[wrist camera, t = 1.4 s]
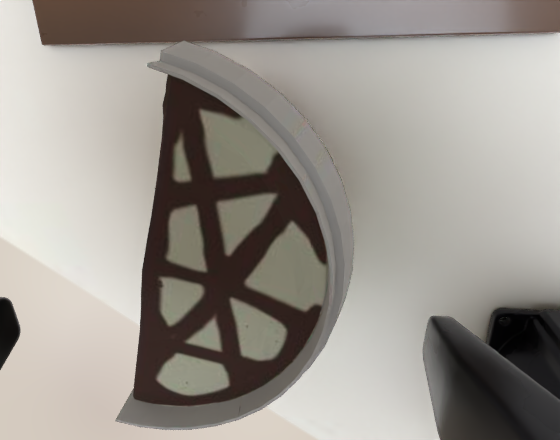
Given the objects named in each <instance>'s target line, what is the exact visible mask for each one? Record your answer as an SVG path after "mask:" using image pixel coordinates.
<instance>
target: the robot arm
mask: <svg viewBox="0 0 560 440" xmlns="http://www.w3.org/2000/svg"><path fill="white" fill-rule="evenodd" d="M502 317H507V318H506V319H505V320H503V321H500V319H501V318H502ZM19 336H20V325H19V322H18V319H17V316H16V313H15V310H14V308H13V304H12V302H11V301H10V300H9V299H8V298H5V297H0V370H1V368H2V366H3V364H4V363H5V361H6V359H7V358H8V356H9V354H10V352H11V351H12V349H13V347H14V346H15V344H16V342H17V340H18V338H19ZM423 360H424V365H425V370H426V375H427V380H428V385H429V390H430V395H431V400H432V405H433V410H434V415H435V420H436V425H437V429H438V433H439V437H440V440H560V310H548V309H545V310H541V311H539V310H523V309H507V308H502V309H498V310H495V311H494V312H493V314H492V316H491V320H490V325H489V330H488V335H487V339H486V343H485V342H483V341H482V340H481V339H479V338H478V337H477V336H476V335H474V334H473V333H472V332H470V331H469V330H468V329H466V328H465V327H464V326H462V325H461V324H460V323H459V322H457V321H456V320H455V319H453V318H452V317H446V316H432V317H430V318H429V320H428V323H427V329H426V334H425V339H424V345H423Z"/></svg>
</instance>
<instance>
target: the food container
mask: <svg viewBox="0 0 560 440" xmlns="http://www.w3.org/2000/svg"><path fill="white" fill-rule="evenodd" d="M147 67H149V68H152V69H155V70H158V71H160V72H163V73H166V74H168V77H167V83H166V93H165V97H164V101H163V131H162V142H161V150H160V158H159V166H158V174H157V182H156V188H155V195H154V202H153V209H152V216H151V221H150V227H149V233H148V238H147V244H146V251H145V257H144V263H143V269H142V288H141V319H140V335H139V344H138V354H137V363H136V373H135V382H134V389H133V390H132V393H131V394H130V396H129V397H128V399H127V401H126V403H125V404H124V406H123V408H122V410H121V411H120V413H119V415H118V417H117V418H116V421H117V422H121V423H125V424H129V425H134V426H138V427H145V428H154V429H162V430H192V429H198V428H207V427H213V426H218V425H222V424H225V423H229V422H232V421H236V420H239V419H241V418H244V417H246V416H248V415H250V414H252V413H255V412H257V411H259V410H261V409H263V408H264V407H266V406H267V405H269V404H270V403H272V402H273V401H275V400H276V399H278V398H279V397H280V396H282V395H283V394H284V393H285V392H286V391H287V390H288V389H289V388H290V387H291V386H292V385H293V384H294V383H295V382H296V381H297V380H298V379H299V378H300V377H301V376H302V374H303V373H304V372H305V371H306V370H307V369H308V368H309V367H310V366H311V365H312V363H313V362H314V361H315V359H316V358H317V356H318V355H319V354H320V352H321V351H322V349H323V348H324V347H325V345H326V343H327V340H328V338H329V336H330V334H331V332H332V330H333V327H334V325H335V323H336V321H337V318H338V316H339V313H340V311H341V308H342V306H343V303H344V301H345V298H346V295H347V291H348V287H349V283H350V278H351V274H352V270H353V254H354V235H353V226H352V218H351V210H350V207H349V203H348V200H347V197H346V193H345V190H344V187H343V183H342V180H341V178H340V176H339V174H338V171H337V169H336V167H335V165H334V163H333V161H332V159H331V157H330V155H329V153H328V151H327V149H326V147H325V146H324V145H323V143H322V142H321V140H320V139H319V137H318V136H317V135H316V133H315V132H314V130H313V129H312V127H311V126H310V125H309V123H308V122H307V120H306V119H305V118H304V117H303V116H302V115H301V114H300V113H299V112H298V111H297V110H296V109H295V108H294V107H293V105H292V104H291V103H290V102H289V101H288V100H287V99H286V98H285V97H284V96H283V95H282V94H281V93H280V92H279V91H277V90H276V89H275V88H273V87H272V86H271V85H269V84H268V83H267V82H265V81H264V80H263V79H261V78H260V77H259V76H257V75H256V74H255V73H253V72H252V71H251V70H249V69H248V68H246V67H244V66H242V65H240V64H238V63H236V62H234V61H233V60H231V59H229V58H227V57H225V56H223V55H221V54H219V53H217V52H215V51H213V50H210V49H207V48H204V47H201V46H198V45H195V44H192V43H189V42H186V41H182V42H180V43H178V44H175V45H173V46H171V47H169V48H166V49H164V50H162V51H161V56H160V61H158V62H151V63H148V65H147Z"/></svg>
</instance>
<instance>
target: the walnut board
mask: <svg viewBox="0 0 560 440" xmlns="http://www.w3.org/2000/svg"><path fill="white" fill-rule="evenodd" d="M32 1H33V5H34V10H35V14H36V19H37V24H38V28H39V33H40V37H41V42H42V45H48V46H55V45H95V44H136V43H176V42H182V41H186V42H217V41H257V40H298V39H338V38H378V37H419V36H459V35H500V34H540V33H560V0H32Z"/></svg>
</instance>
